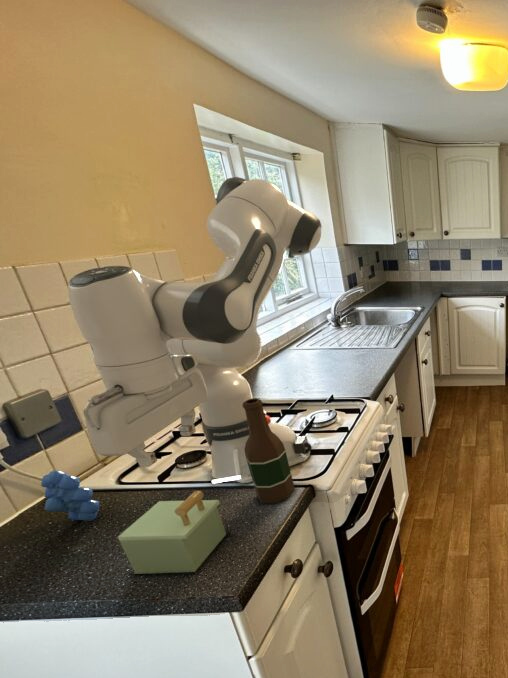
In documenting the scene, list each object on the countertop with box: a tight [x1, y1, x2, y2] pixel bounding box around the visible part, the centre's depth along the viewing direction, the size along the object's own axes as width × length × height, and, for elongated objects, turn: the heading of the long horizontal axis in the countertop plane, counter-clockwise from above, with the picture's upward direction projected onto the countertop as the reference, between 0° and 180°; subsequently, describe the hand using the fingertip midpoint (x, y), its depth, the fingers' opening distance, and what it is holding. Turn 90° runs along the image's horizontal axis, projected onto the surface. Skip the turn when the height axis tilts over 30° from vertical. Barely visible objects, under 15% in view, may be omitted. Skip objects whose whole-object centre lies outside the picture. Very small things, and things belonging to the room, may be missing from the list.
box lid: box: [117, 490, 220, 541], centre depth 75 cm, size 11×10×5 cm
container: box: [119, 506, 227, 575], centre depth 78 cm, size 11×10×8 cm
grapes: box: [40, 470, 100, 522], centre depth 85 cm, size 12×7×12 cm, turn 77°
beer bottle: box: [242, 397, 295, 504], centre depth 91 cm, size 8×8×24 cm
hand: (170, 448), depth 70 cm, fingers open, 8 cm apart
